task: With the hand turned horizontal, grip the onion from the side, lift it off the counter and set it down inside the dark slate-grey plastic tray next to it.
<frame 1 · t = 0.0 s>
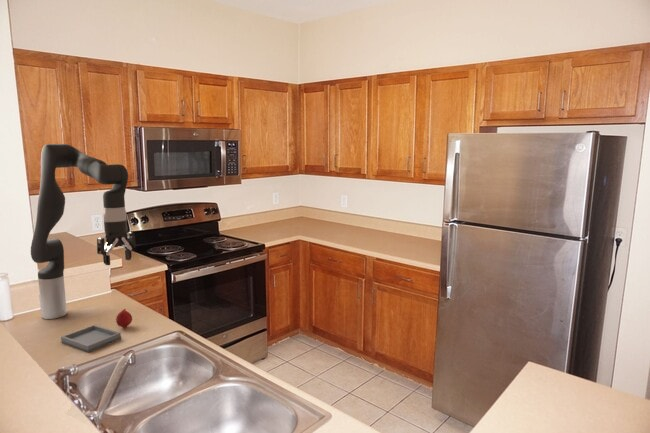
hand: (118, 262, 162), 29 cm above the counter, tool pointing down, fingers open, 8 cm apart
onion: (124, 328, 175), on the counter
tray: (91, 341, 163), on the counter
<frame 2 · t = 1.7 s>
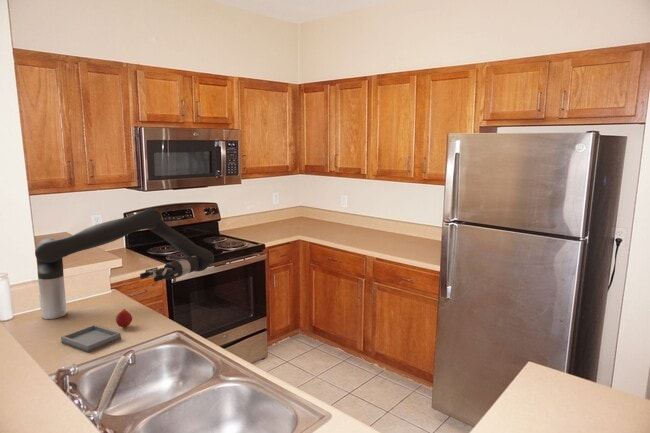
hand: (147, 277, 182), 18 cm above the counter, tool horizontal, fingers open, 8 cm apart
nothing on the counter moved.
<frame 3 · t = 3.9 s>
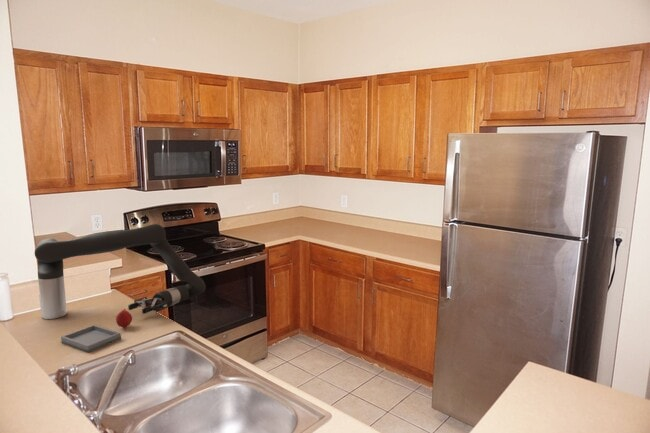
hand: (135, 309, 179), 6 cm above the counter, tool horizontal, fingers open, 8 cm apart
nothing on the counter moved.
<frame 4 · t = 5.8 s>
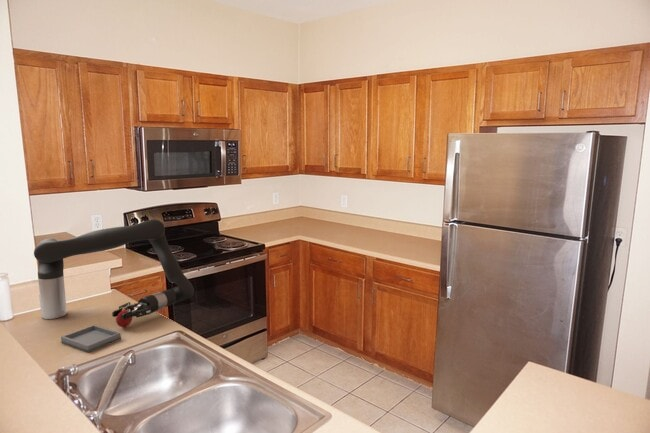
hand: (118, 315, 172), 6 cm above the counter, tool horizontal, fingers closed on onion, 5 cm apart
onion: (124, 328, 175), on the counter, touching gripper
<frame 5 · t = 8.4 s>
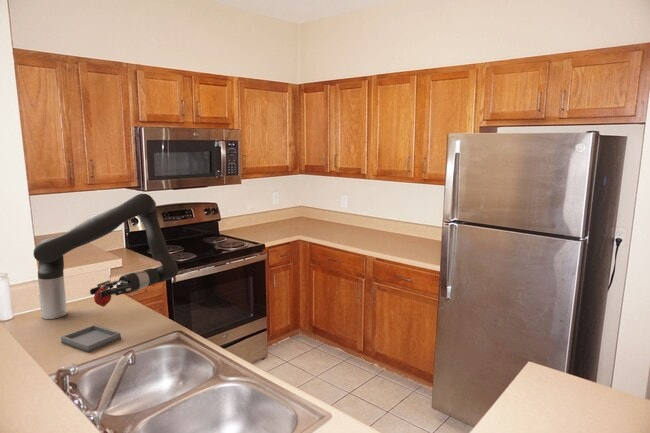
hand: (95, 293, 163), 18 cm above the counter, tool horizontal, fingers closed on onion, 5 cm apart
onion: (103, 307, 166), point 11 cm above the counter, touching gripper
when the fingers open (8 cm above the counter, at t = 11.1 s): onion drops 1 cm, resting on tray.
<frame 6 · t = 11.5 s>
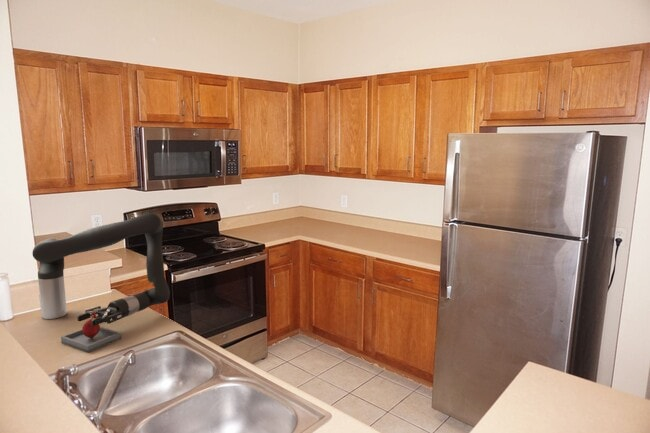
hand: (84, 321, 160), 8 cm above the counter, tool horizontal, fingers open, 8 cm apart
onion: (91, 338, 163), point 1 cm above the counter, touching tray
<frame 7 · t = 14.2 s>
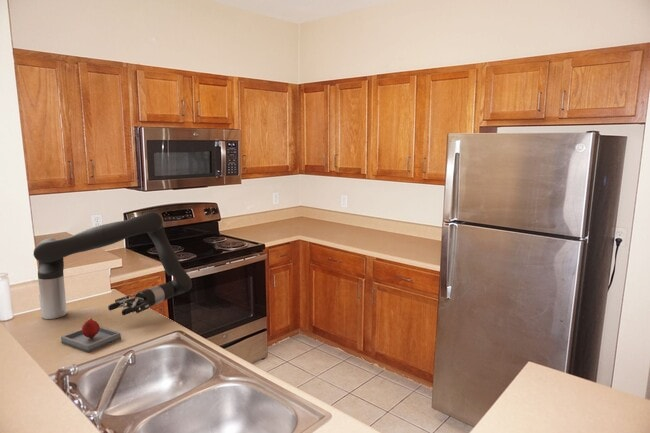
hand: (115, 310, 171), 8 cm above the counter, tool horizontal, fingers open, 8 cm apart
nothing on the counter moved.
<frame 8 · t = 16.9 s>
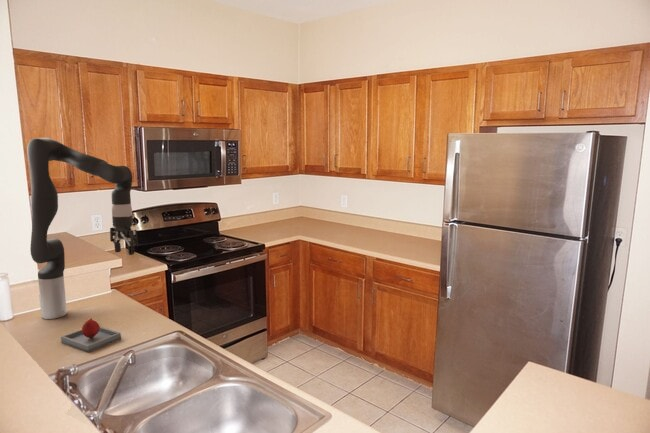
hand: (124, 253, 181), 28 cm above the counter, tool pointing down, fingers open, 8 cm apart
nothing on the counter moved.
at the end: onion inside the target area on the tray (0.1 cm from its centre), point 0.8 cm above the tray's base; the gripper is holding nothing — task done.
